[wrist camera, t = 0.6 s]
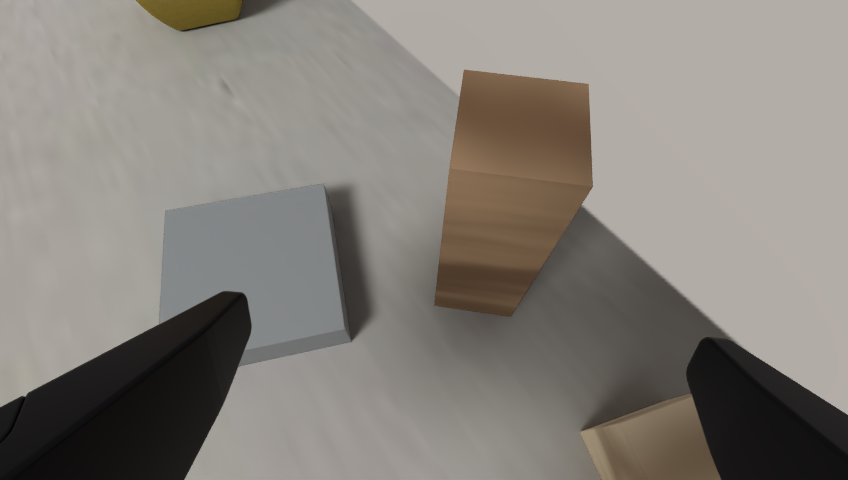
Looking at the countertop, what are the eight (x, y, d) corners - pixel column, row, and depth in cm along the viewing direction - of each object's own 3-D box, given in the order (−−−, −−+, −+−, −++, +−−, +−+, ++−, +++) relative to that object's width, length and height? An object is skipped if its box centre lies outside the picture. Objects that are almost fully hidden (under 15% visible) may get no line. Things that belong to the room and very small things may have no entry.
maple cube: (721, 506, 21) (804, 517, 16) (629, 545, 20) (690, 567, 15) (664, 400, 23) (723, 384, 18) (579, 431, 22) (620, 423, 18)
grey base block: (352, 343, 24) (344, 329, 22) (185, 379, 23) (156, 368, 21) (332, 209, 28) (323, 183, 26) (189, 235, 27) (165, 210, 25)
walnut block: (510, 316, 25) (592, 186, 13) (434, 305, 25) (449, 168, 13) (514, 248, 27) (588, 84, 15) (443, 238, 27) (464, 69, 15)
